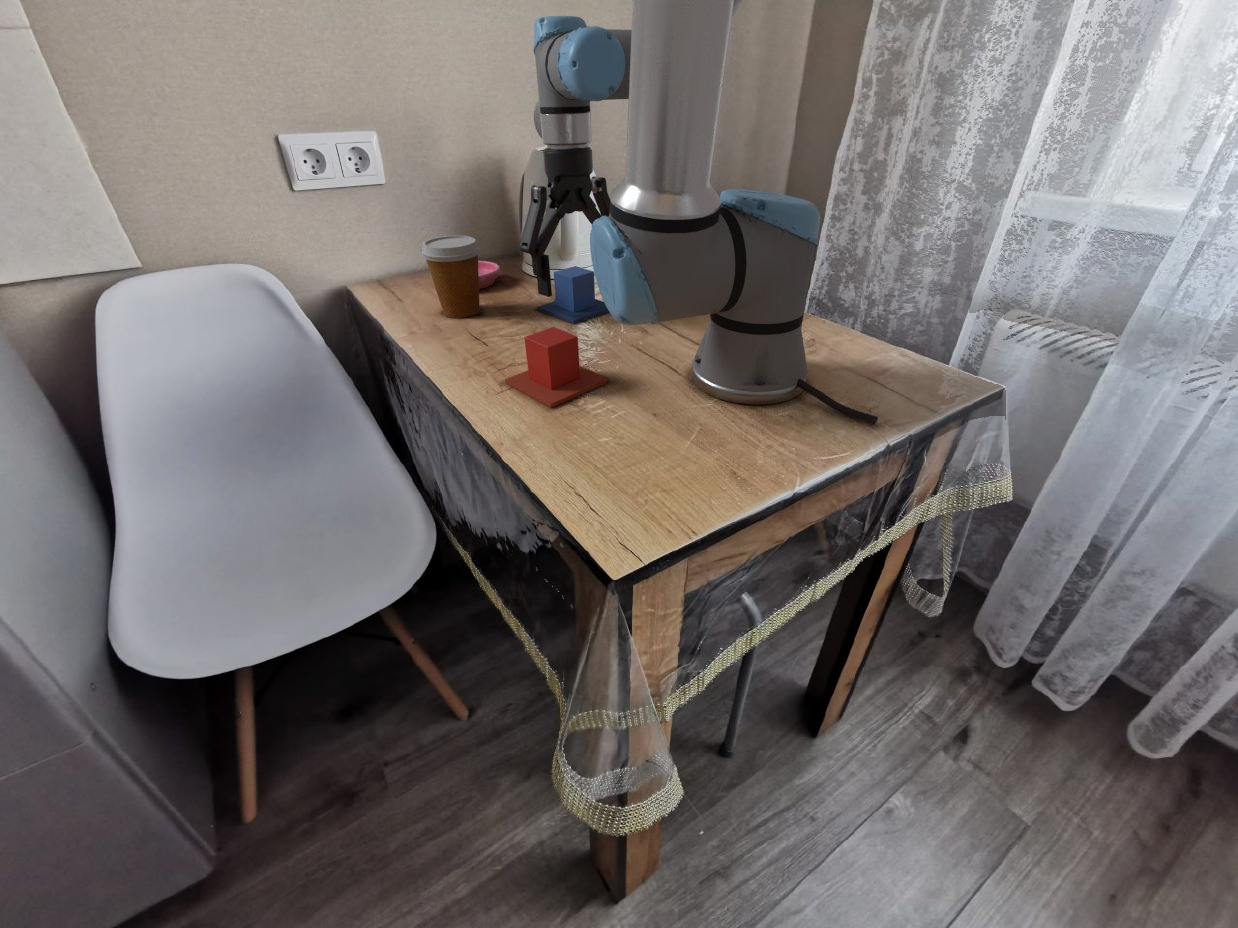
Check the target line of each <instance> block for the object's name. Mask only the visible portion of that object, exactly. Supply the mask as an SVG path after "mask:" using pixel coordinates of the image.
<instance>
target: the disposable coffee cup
mask: <svg viewBox="0 0 1238 928" xmlns="http://www.w3.org/2000/svg"><path fill="white" fill-rule="evenodd" d="M480 250H481V248H480V246H479V245H478V243H477V240H476V238H474V237H473V236H468V235H445V236H444V235H443V236H436V237H432V238H429V239H426V240H424V241H423V242H422V249H421V255H422V256H423V258H424V259H425V261H426V264H427V267H428V270H429V273H430V276H431V279H432V282H433V285H434V289H435V291H436V294H437V297H438V300H439V303H440V306H441V309H442V312H443V315H444V316H445V317H448V318H451V319H452V318H453V319H460V318H461V319H462V318H469V317H472V316H474V315H477V314H478V313H480V311H481V310H480V309H481V308H480V307H481V306H480V289H479V273H478V261H479V254H480Z"/></svg>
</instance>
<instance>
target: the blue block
mask: <svg viewBox="0 0 1238 928" xmlns="http://www.w3.org/2000/svg"><path fill="white" fill-rule="evenodd" d="M553 282H554V295H555V301H556V306H558V307H561V308H563V309H566V310H569V311H572V312H577V311H580V310H583V309H586V308H589V307H592V306H595V299H596V288H595V273H594V270H590V269H587V268H583V267H581V266H577V265H574V266H570V267H565V268H563V269H560V270H556V271H553Z"/></svg>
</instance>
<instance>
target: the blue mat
mask: <svg viewBox="0 0 1238 928" xmlns="http://www.w3.org/2000/svg"><path fill="white" fill-rule="evenodd" d="M536 309H537V311H540V312H542V313H545V314H546V315H549V316H551V317H554V318H558V319H560V320H563V321H565V322H567V323H570V324H578V323H581V322H583V321H586V320H590V319H591V318H595V317H597V316H600V315H604V314H606V313H610V312H609V310H608V309H607V307H606V305H605V303H604V301H603V300H599V299H597V298H595V306H592V307H589V308H586V309H583V310H580V311H577V312H572V311H569V310H566V309H563V308H561V307H558V306H556V300H554V301H551V302H548V303H545V304H544V303H543V304H541V305H538V306H536Z"/></svg>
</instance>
